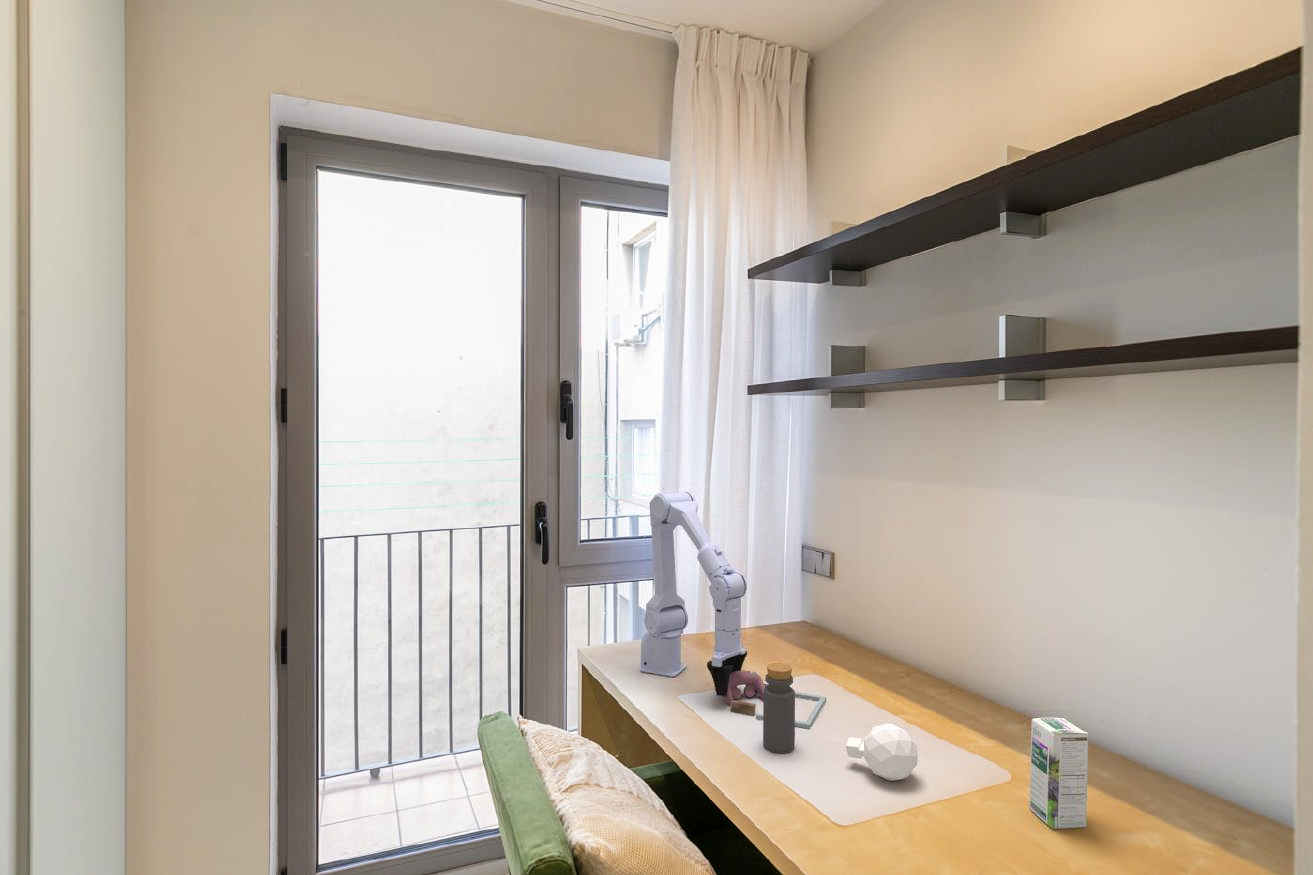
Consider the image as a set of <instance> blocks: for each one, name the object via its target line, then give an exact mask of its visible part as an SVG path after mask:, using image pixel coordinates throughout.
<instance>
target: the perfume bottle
mask: <svg viewBox="0 0 1313 875" xmlns="http://www.w3.org/2000/svg"><path fill="white" fill-rule="evenodd" d="M845 748H846V753H847V756H848V757H849V758H856V759H862V757H863V759H864V760H865V762H866V763H867V764H868V767H869V768H870V769H871V771H872V773H873V774H875V775H876V776H879V777H881V778H883V779H885V780H888V781H890V782H893V781H899V780H903V779H908V778H909V776H910V775H911V773H912V771H914V769H915V768H916V766H917V765H918V746H917V744H916V742H915V741H914V739H913V738H912V736H910V734H909V732H908V730H906V729H903V728H901V727H899V726H897V725H895V724H892V723H891V722H890V723H886V724H881V725H875V726H873V727H872V729H871V730H870V732H869V733H867V735H866V737H864V740H863V738H858V737H852V736H849V737H848V739H847V741H846V744H845Z"/></svg>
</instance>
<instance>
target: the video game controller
mask: <svg viewBox="0 0 1313 875" xmlns="http://www.w3.org/2000/svg"><path fill="white" fill-rule="evenodd" d="M764 684H765V683H764V681H763V679H762V677H761V676H760V675H759V674H758V673H757V672H756V671H753V670H746V669H745V670H741V671H735V672H732V673H731V674H730V678H729V684H728V691H727V695H726V696H723V697H724V700H725V702H726V703H727V704H728V705H729V706H731V701H732V700H736V699H739V698H741V696H742V690H741V689H740V688H739V687H738V686H742V685H745V686H744V688H743V695H744V696H745V697H746V698H752V697H754V695H755V693H754V692H755V690H757V691H758V693H757V694H759V696H760V698H761V699H762V700H763V692H764V688H765V686H764Z"/></svg>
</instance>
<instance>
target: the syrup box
mask: <svg viewBox="0 0 1313 875" xmlns="http://www.w3.org/2000/svg"><path fill="white" fill-rule="evenodd" d="M1030 729H1031V732H1030V735H1031V737H1030V777H1029V778H1030V780H1029V810H1030V811H1031V813H1032V812H1033V813H1034V814H1035V816H1037V817H1038V818H1039V819H1040V820H1042V821H1043V823H1045V824H1046V825H1047V826H1048V827H1049V828H1050V829H1051V830H1060V829H1062V830H1063V829H1077V828H1079V829H1080V828H1087V809H1088V808H1087V807H1088V771H1089V769H1088V765H1089V732H1087V731H1084V730H1082V729H1081V728H1079V727H1078V726H1077V725H1074V724H1073V723H1072V722H1070V721H1068V720H1067V719H1066V718H1063V717H1048V716H1047V717H1038V718H1032V719H1031V728H1030Z"/></svg>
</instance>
